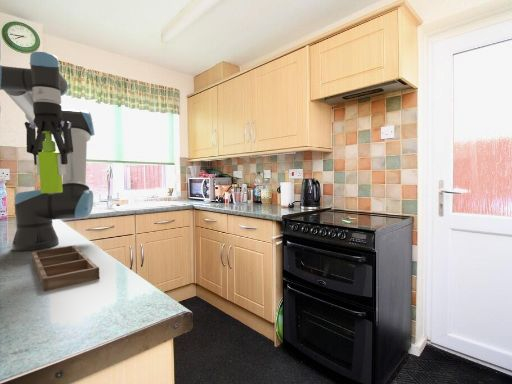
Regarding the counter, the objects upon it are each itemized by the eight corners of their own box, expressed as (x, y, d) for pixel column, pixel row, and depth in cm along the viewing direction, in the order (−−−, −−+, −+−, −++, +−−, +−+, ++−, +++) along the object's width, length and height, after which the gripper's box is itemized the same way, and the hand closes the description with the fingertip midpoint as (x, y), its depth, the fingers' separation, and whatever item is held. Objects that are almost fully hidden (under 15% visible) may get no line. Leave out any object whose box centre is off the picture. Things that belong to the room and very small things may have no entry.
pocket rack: (32, 260, 99) (31, 251, 98) (75, 253, 107) (74, 245, 107) (43, 291, 72) (43, 279, 72) (99, 278, 80) (98, 267, 80)
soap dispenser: (69, 191, 98) (66, 132, 96) (47, 193, 91) (43, 129, 90) (59, 191, 100) (55, 133, 99) (36, 193, 94) (32, 130, 93)
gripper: (7, 100, 90) (13, 175, 91) (70, 100, 91) (74, 174, 92) (25, 106, 97) (30, 175, 99) (83, 105, 98) (87, 174, 100)
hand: (51, 174), depth 95 cm, fingers closed on soap dispenser, 6 cm apart
